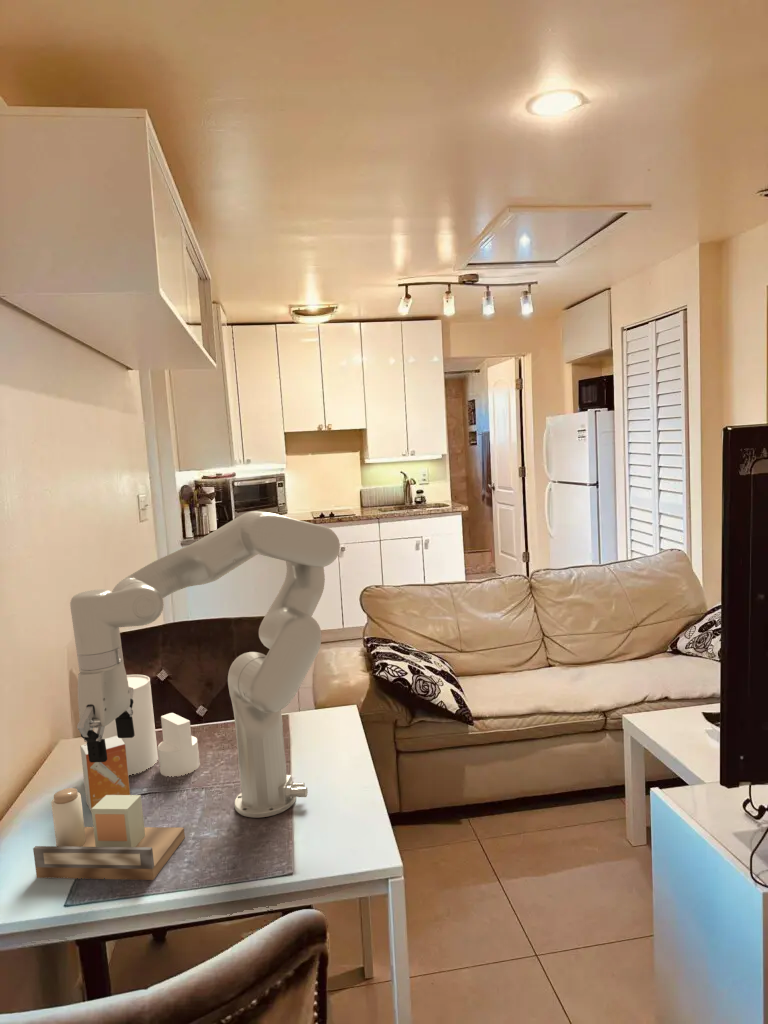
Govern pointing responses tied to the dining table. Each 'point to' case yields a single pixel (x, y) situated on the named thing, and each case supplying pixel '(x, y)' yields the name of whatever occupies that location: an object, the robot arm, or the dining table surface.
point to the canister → (138, 727)
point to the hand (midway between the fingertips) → (112, 748)
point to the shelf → (110, 857)
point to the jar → (68, 818)
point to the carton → (118, 821)
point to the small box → (106, 772)
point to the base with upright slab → (177, 747)
